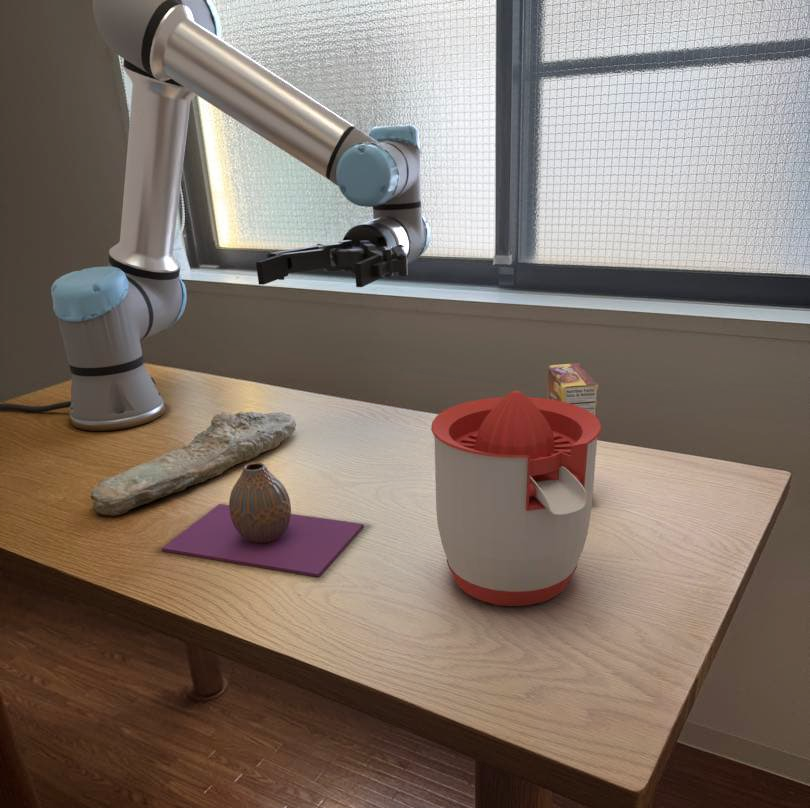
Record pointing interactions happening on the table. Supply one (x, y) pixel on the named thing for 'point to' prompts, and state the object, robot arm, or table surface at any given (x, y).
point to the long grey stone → (193, 460)
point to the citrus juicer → (514, 494)
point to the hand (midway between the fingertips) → (307, 274)
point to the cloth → (293, 552)
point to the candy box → (572, 386)
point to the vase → (259, 505)
